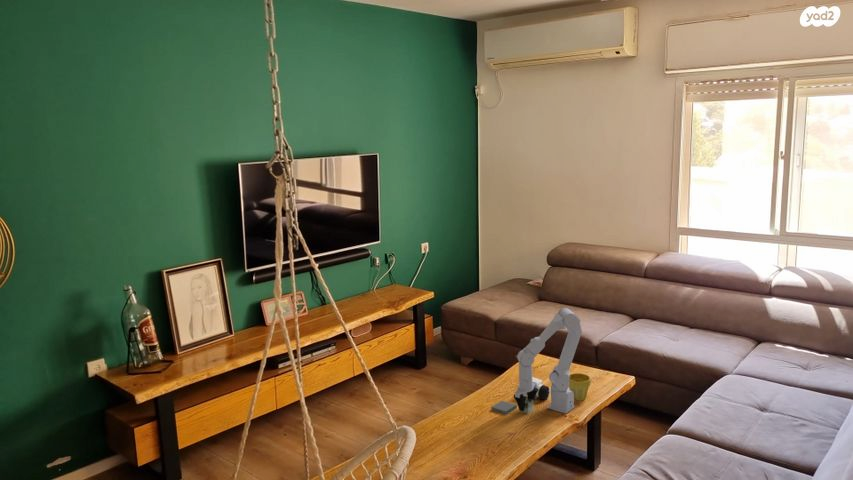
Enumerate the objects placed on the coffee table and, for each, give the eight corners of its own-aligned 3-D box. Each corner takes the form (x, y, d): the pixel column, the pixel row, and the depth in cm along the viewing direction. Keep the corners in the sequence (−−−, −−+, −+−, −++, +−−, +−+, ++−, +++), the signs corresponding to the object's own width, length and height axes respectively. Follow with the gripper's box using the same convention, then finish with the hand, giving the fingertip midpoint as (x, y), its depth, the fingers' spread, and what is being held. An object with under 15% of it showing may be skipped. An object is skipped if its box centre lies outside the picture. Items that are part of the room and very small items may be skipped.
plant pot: (595, 399, 293) (595, 379, 291) (575, 404, 289) (575, 383, 287) (581, 391, 302) (581, 371, 300) (562, 395, 298) (562, 375, 297)
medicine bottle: (520, 394, 300) (543, 403, 292) (521, 380, 298) (544, 389, 291) (528, 389, 305) (551, 398, 298) (529, 375, 303) (552, 383, 296)
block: (516, 409, 288) (516, 404, 288) (506, 415, 282) (506, 411, 282) (501, 404, 293) (501, 400, 293) (491, 411, 287) (491, 406, 287)
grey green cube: (533, 410, 285) (533, 399, 284) (528, 414, 282) (527, 403, 281) (524, 407, 288) (524, 397, 287) (519, 411, 285) (518, 400, 284)
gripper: (526, 370, 290) (527, 399, 293) (508, 381, 279) (509, 411, 282) (540, 374, 286) (541, 403, 288) (522, 385, 275) (523, 415, 277)
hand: (526, 407), depth 285 cm, fingers open, 7 cm apart
